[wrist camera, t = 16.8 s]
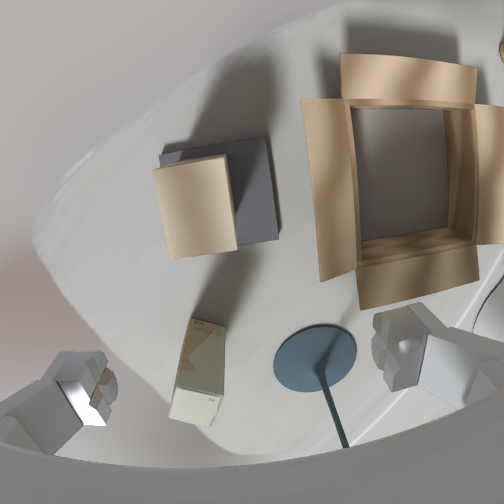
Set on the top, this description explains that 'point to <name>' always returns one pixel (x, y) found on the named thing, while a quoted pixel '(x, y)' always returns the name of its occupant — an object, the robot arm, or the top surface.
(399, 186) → the top surface
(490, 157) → the carton
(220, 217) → the block
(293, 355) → the cocktail glass
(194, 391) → the box
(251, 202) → the mat
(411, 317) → the robot arm
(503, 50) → the sprinkles bottle
